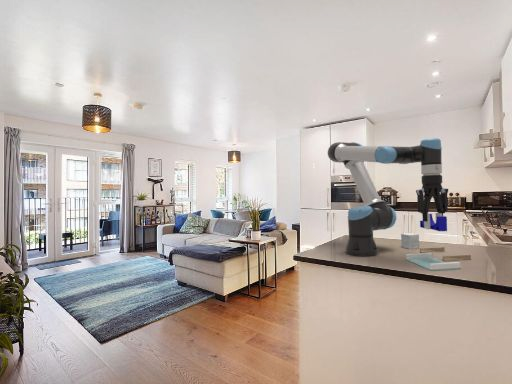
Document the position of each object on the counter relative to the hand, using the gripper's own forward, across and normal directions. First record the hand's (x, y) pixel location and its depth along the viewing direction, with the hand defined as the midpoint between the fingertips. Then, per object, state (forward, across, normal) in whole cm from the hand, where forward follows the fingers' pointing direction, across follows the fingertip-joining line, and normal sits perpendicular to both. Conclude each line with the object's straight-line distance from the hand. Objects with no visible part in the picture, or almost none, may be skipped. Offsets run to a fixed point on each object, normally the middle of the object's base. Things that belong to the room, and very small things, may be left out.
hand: (433, 228), depth 119 cm
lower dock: (+15, -4, -3) cm, 15 cm away
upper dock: (+15, +11, +7) cm, 20 cm away
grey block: (+15, +8, +27) cm, 32 cm away
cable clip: (+1, 0, 0) cm, 1 cm away
